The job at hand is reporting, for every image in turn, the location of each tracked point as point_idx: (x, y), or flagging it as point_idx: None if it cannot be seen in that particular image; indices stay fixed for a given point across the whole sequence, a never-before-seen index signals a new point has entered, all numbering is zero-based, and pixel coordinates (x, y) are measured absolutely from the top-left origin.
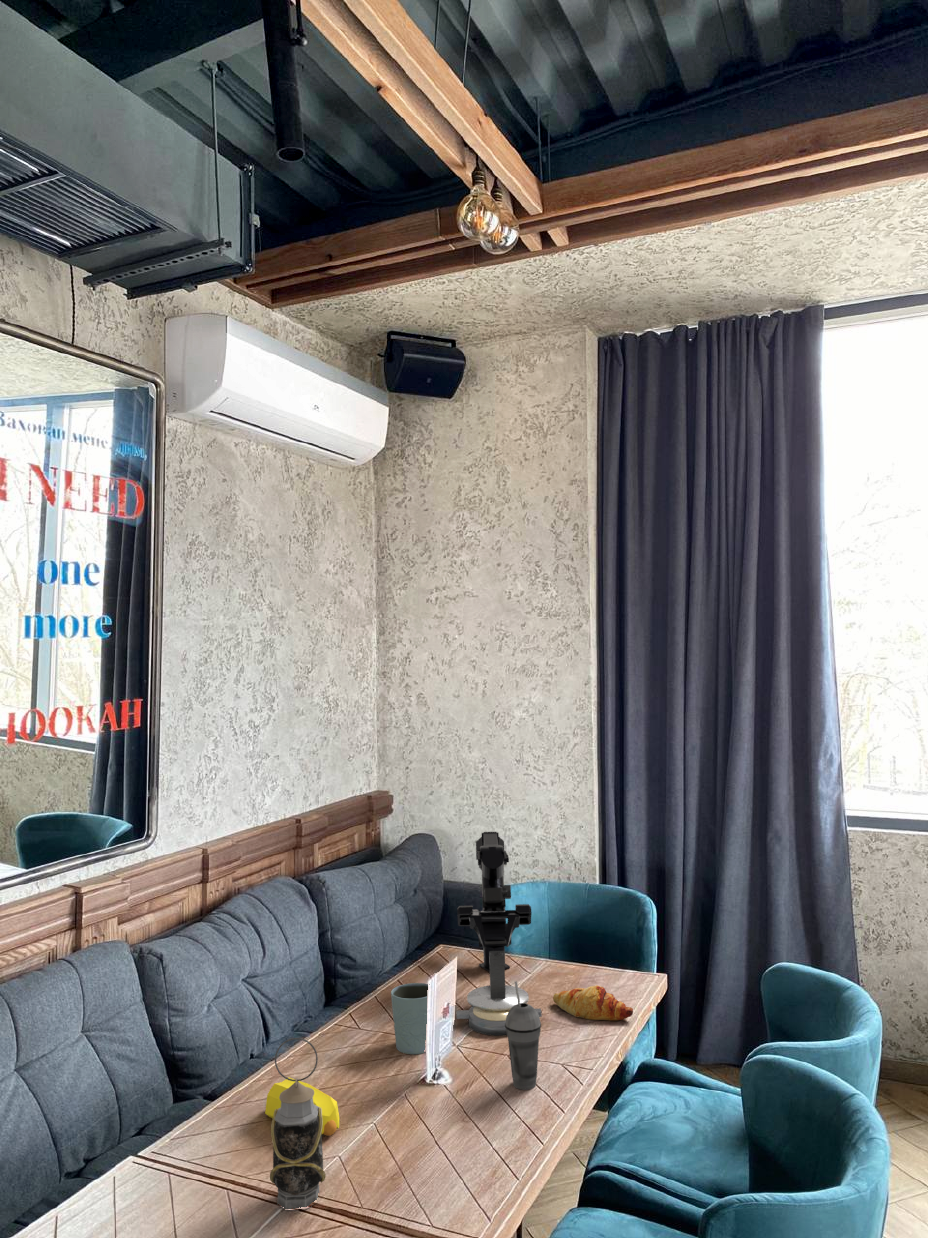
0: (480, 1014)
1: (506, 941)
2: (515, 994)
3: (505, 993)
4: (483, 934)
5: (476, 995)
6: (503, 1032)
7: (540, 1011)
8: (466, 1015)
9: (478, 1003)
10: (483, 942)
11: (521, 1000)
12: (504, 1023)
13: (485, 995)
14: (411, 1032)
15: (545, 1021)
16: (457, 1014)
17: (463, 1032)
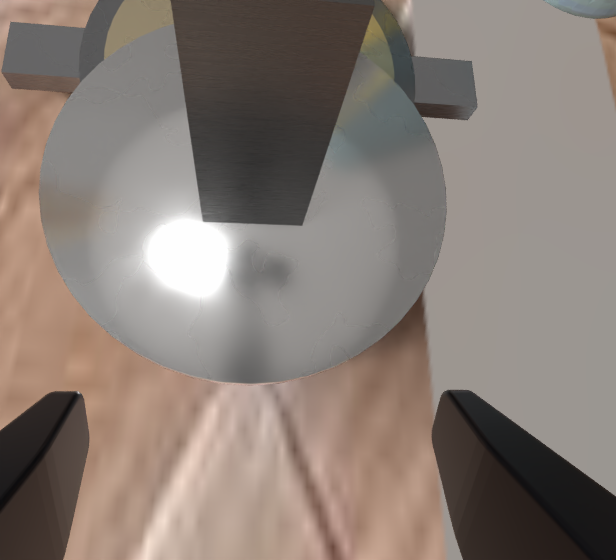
0: None
1: (52, 423)
2: (131, 188)
3: (199, 212)
4: (568, 516)
5: (390, 200)
6: None
7: (13, 33)
8: (421, 59)
9: (372, 80)
10: (487, 409)
11: (106, 87)
12: None
13: (333, 192)
14: None
15: (6, 101)
16: (467, 61)
17: (413, 42)
